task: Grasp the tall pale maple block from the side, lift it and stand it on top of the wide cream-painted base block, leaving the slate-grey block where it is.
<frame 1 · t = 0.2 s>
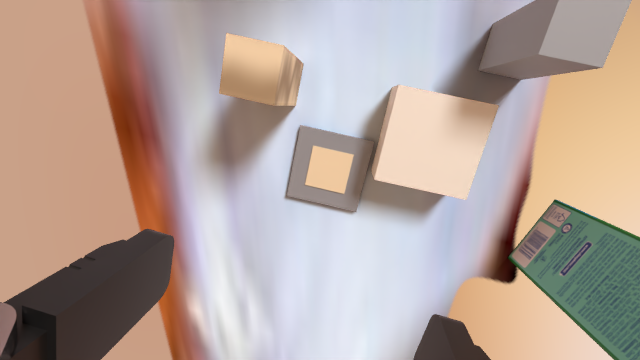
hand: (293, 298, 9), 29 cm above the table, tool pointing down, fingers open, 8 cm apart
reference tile: (329, 168, 37), on the table
slate block: (507, 52, 33), on the table
base block: (422, 139, 36), on the table
maple block: (279, 80, 36), on the table
milk carton: (559, 245, 37), on the table
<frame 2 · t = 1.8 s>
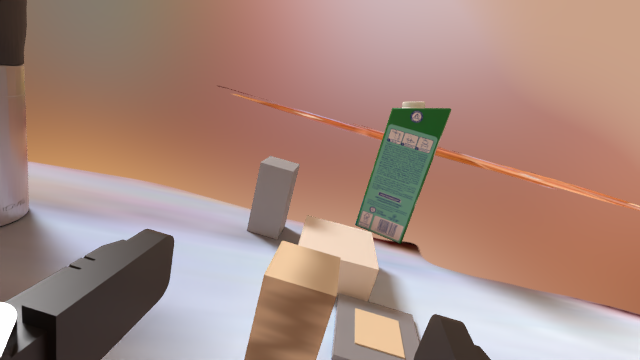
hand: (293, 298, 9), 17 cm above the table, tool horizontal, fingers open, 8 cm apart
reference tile: (376, 336, 32), on the table
slate block: (266, 228, 48), on the table
base block: (329, 270, 42), on the table
milk carton: (381, 227, 60), on the table
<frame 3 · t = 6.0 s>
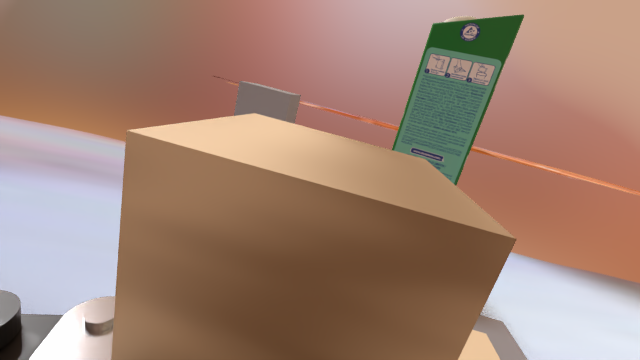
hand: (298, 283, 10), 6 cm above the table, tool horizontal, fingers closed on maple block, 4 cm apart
slate block: (252, 192, 32), on the table
milk carton: (411, 201, 45), on the table
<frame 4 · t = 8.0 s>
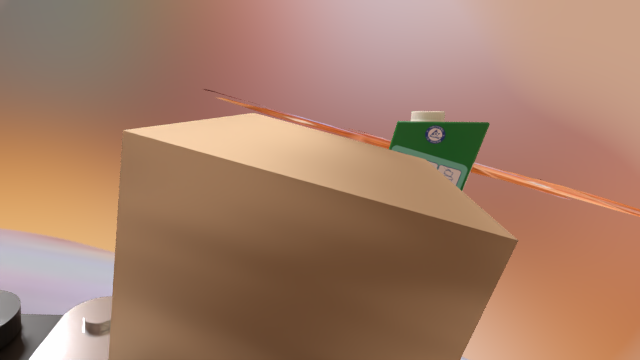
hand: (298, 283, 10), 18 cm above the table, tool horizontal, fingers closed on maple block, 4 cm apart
milk carton: (382, 286, 43), on the table
when the fingers open (12 cm above the table, at t = 10.2 s): maple block drops 2 cm, resting on base block.
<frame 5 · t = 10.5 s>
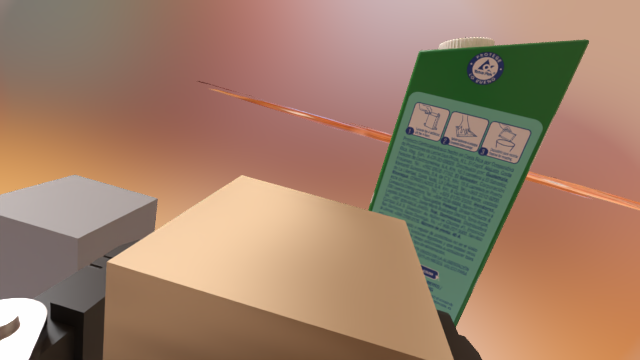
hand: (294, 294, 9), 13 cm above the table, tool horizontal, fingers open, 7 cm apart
milk carton: (390, 313, 30), on the table
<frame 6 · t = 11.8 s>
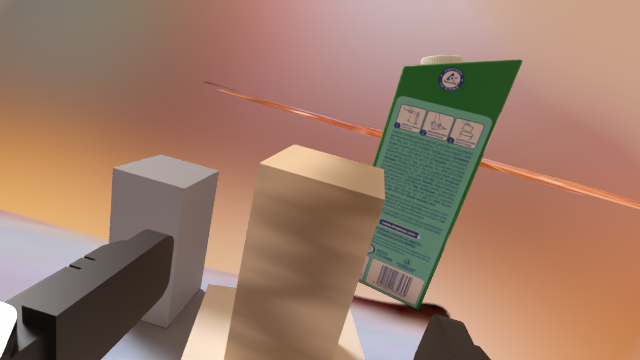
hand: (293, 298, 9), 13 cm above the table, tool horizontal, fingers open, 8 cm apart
slate block: (157, 297, 24), on the table
maple block: (282, 354, 17), point 5 cm above the table, touching base block
milk carton: (384, 273, 37), on the table
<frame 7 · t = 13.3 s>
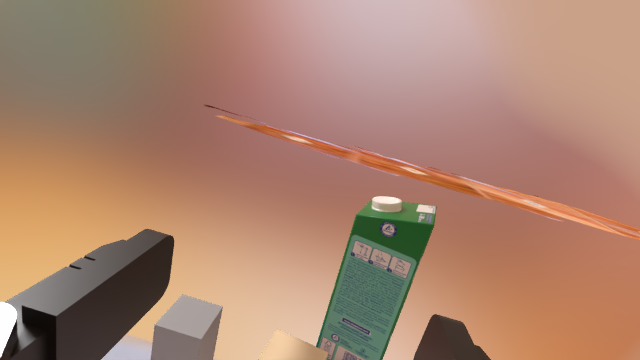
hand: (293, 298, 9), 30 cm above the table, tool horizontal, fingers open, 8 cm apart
milk carton: (350, 348, 47), on the table
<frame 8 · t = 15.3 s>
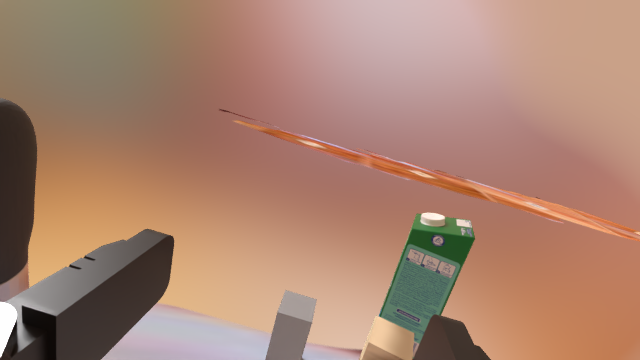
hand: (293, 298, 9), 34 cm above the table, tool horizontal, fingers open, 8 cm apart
milk carton: (398, 334, 58), on the table
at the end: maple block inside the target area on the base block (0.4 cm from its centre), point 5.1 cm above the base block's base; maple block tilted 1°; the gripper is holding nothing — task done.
